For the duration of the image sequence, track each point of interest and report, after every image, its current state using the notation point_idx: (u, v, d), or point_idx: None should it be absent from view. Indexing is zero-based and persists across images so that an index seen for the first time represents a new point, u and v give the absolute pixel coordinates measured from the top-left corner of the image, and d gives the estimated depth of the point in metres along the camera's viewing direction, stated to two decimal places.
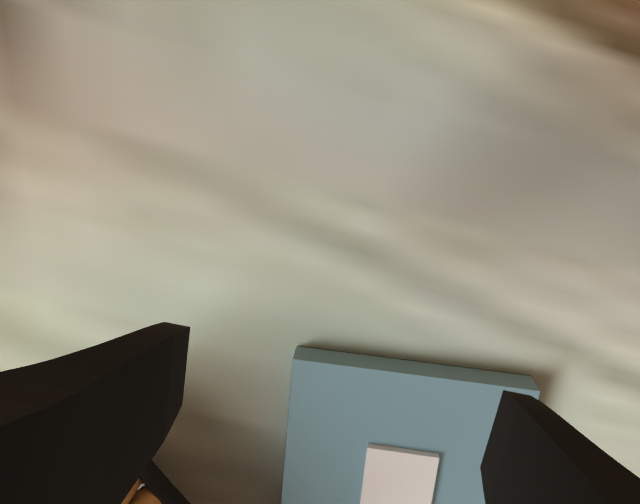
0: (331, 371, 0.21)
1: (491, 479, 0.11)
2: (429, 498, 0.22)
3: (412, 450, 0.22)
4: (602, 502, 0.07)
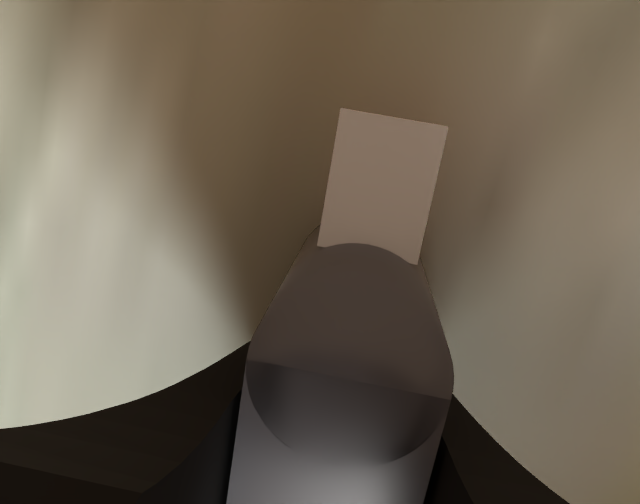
0: None
1: None
2: None
3: None
4: (453, 471, 0.07)
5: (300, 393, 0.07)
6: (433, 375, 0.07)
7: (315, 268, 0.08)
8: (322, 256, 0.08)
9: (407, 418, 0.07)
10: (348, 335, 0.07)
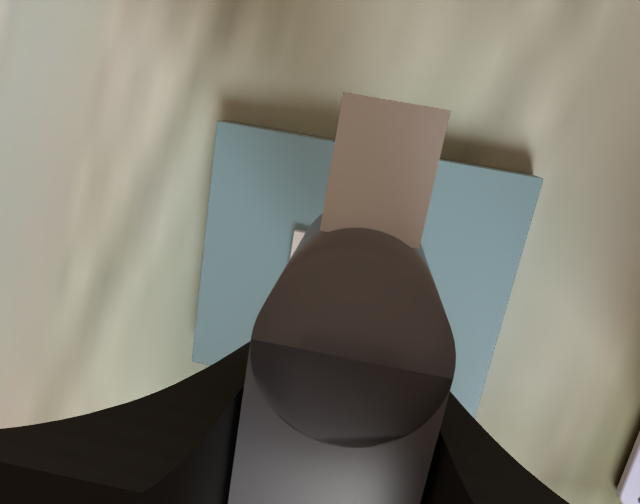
0: (203, 327, 0.21)
1: None
2: None
3: (291, 256, 0.20)
4: (453, 471, 0.07)
5: (304, 373, 0.08)
6: (435, 354, 0.07)
7: (318, 250, 0.08)
8: (325, 239, 0.09)
9: (410, 397, 0.07)
10: (351, 314, 0.07)
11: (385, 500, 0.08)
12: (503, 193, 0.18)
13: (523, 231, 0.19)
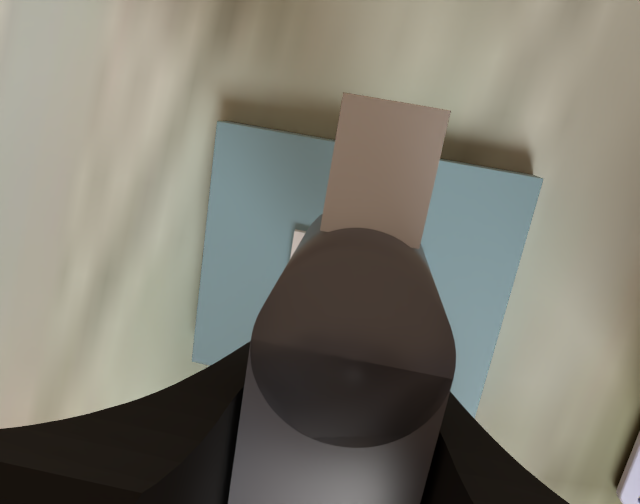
0: (203, 327, 0.21)
1: None
2: None
3: (291, 256, 0.20)
4: (453, 471, 0.07)
5: (304, 373, 0.08)
6: (435, 354, 0.07)
7: (318, 250, 0.08)
8: (325, 239, 0.09)
9: (410, 397, 0.07)
10: (351, 314, 0.07)
11: (385, 500, 0.08)
12: (503, 193, 0.18)
13: (523, 231, 0.19)
